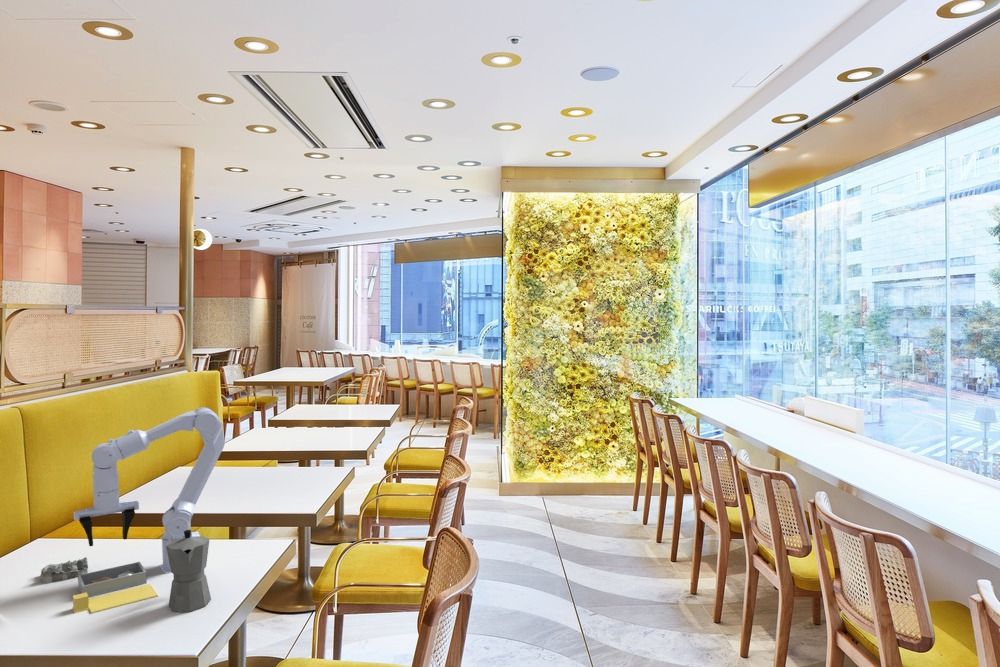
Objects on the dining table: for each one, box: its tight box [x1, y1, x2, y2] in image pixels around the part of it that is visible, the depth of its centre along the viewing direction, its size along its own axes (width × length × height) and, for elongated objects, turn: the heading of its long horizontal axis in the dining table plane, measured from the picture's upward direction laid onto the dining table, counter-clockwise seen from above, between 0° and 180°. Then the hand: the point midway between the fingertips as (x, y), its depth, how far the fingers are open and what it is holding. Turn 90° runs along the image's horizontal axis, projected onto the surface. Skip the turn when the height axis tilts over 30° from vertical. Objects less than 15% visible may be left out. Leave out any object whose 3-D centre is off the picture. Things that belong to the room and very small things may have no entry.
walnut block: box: [90, 576, 112, 584], centre depth 168 cm, size 4×3×2 cm
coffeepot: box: [166, 529, 212, 613], centre depth 159 cm, size 15×9×18 cm, turn 25°
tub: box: [77, 561, 148, 598], centre depth 170 cm, size 14×9×4 cm, turn 128°
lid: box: [72, 583, 159, 614], centre depth 161 cm, size 17×9×4 cm, turn 129°
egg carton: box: [40, 556, 89, 584], centre depth 177 cm, size 11×8×4 cm
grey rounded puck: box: [118, 571, 134, 577], centre depth 172 cm, size 4×4×2 cm
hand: (108, 541), depth 173 cm, fingers open, 7 cm apart
